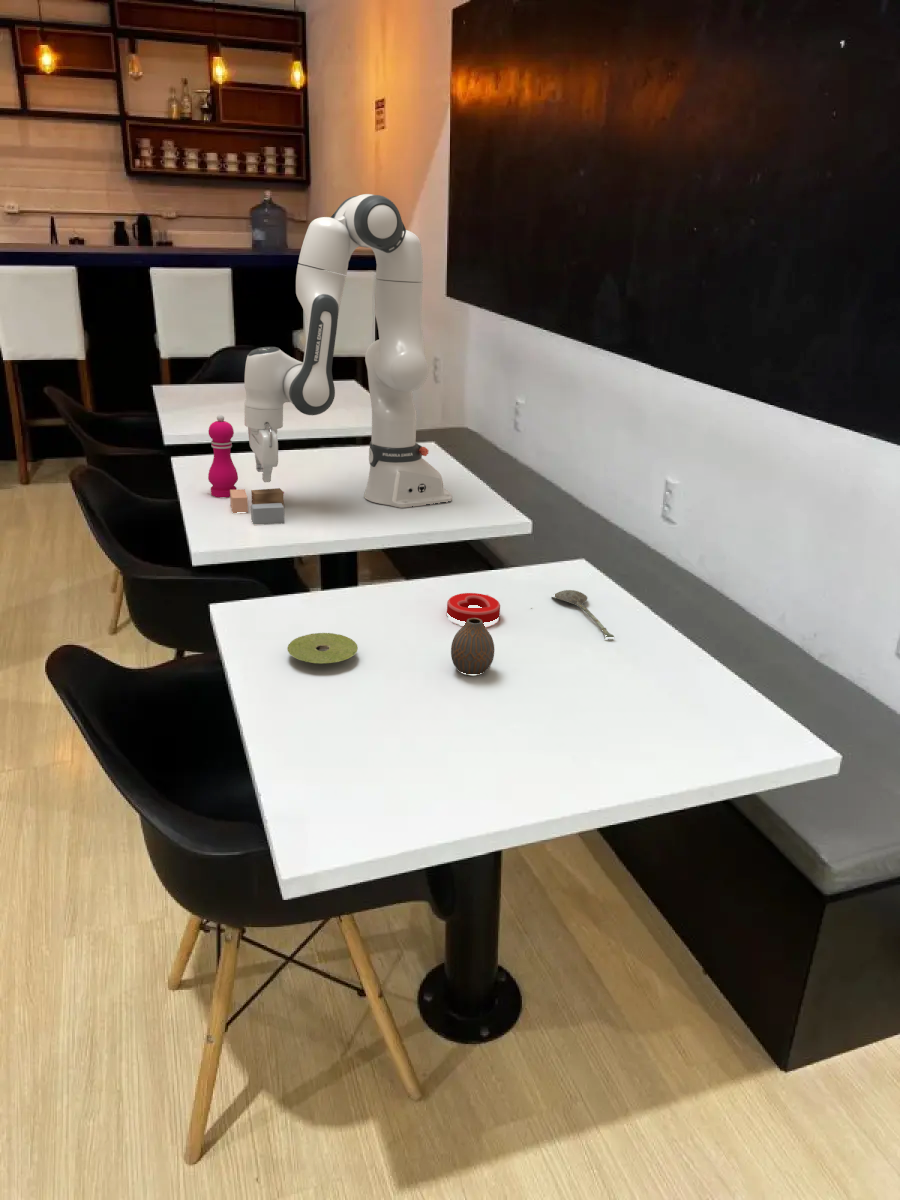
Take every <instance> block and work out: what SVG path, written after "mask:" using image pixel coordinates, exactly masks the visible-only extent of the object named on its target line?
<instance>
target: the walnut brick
mask: <svg viewBox="0 0 900 1200" xmlns="http://www.w3.org/2000/svg"><path fill="white" fill-rule="evenodd" d="M250 493H251V495H250V496H251V504H270V503H282V505H283V507H284V508H285V498H284V493H285V492H284V491H283V490H282V488H280V487H278V488H263V489H261V488H260V489H251V492H250Z"/></svg>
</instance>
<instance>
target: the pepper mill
mask: <svg viewBox="0 0 900 1200" xmlns="http://www.w3.org/2000/svg"><path fill="white" fill-rule="evenodd" d="M234 433H235V430H234V427H233V425H232V424H231V423H230V422H228V421H225V416H224V415H223V414H218V415H217V416H216V421H213V422H212V423H211V424H210V425H209V427H208V436H209V437H210V439H211V441H210V442H211V448H212V449H213V459H212V462H211V465H210V467H209V470H208V474H207V475H208V476H207V477H208V479H207V480H208V482H209V483H210V484H211V485H212V486H211V487H210V494H211V495H210V496H212V497H214V496H215V498H220V497H226V498H230V490H237V487H236V486H235V485H236V483H237V482H238V480H239V476H238V475H239V474H238V471H237V469H236V466H235V464H234V462H233V459H232V457H231V455H232V454H231V448H232V447H233V444H232V443H233V441H232V438H233V437H234Z"/></svg>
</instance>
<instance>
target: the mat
mask: <svg viewBox="0 0 900 1200" xmlns="http://www.w3.org/2000/svg"><path fill="white" fill-rule="evenodd" d="M358 647H359V646H358V644H357V643H356V641H355V640H353V639H352V638H350V637H348V636H345V635H343V634H338V633H333V632H332V633H331V632H318V633H317V632H316V633H309V634H305V635H302V636H298V637H296V638H294V639H293V640H291V641H290V643H288V646H287V648H286V649H287V652H288V654H289V655H290V656H291V657H293V658H294V659H296V660H299V661H302V662H305V663H312V664H332V663H339V662H343V661H345V660H348V659H350V658H352V657H353V656H355V655H356V653H357V652H358V650H359V649H358Z"/></svg>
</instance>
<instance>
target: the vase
mask: <svg viewBox="0 0 900 1200" xmlns="http://www.w3.org/2000/svg"><path fill="white" fill-rule="evenodd" d="M450 656H451V661H452V664H453V666H454V667H455V669H456V670H457V671H458V670H459V671H460V672H459V671H458V672H459V673H461V672H463V673H466V674H480V673H482V674H484V673H485V672H486V671H487V670H488V669H489V668H490V667H491V666H492V663H493V661H494V658H495V643H494V640H493V636H492V634H490V632H489V630H488V629H487V627H485V626H484V624H483V622H482V620H481V619H478V618H470V619H468V620H467V621H466V623H465V625H464V626H461V628H460V629H459V630H458V631H457V632H456V633H455V635H454V636H453V639H452V642H451V646H450ZM483 672H484V673H483Z"/></svg>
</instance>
